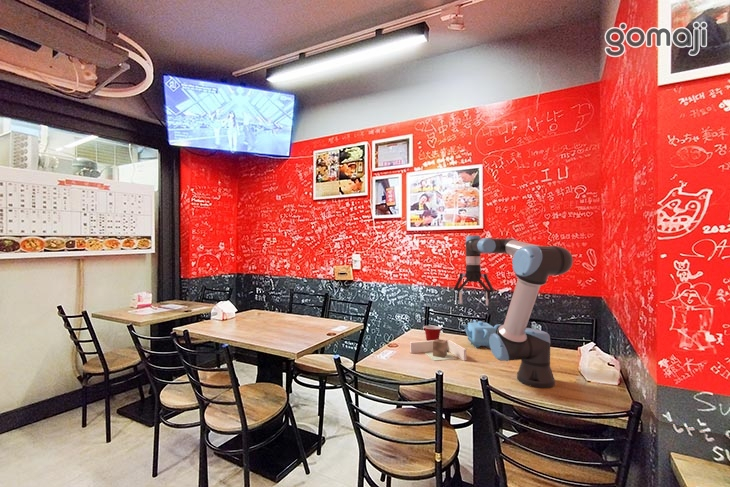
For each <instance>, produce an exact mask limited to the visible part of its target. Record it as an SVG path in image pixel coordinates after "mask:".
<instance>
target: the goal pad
mask: <svg viewBox="0 0 730 487" xmlns="http://www.w3.org/2000/svg"><path fill="white" fill-rule="evenodd" d="M424 354H425V355H426V356H428V358H430V359H431V360H432V361H435V362H436V361H437V362H438V361H448V360H451V361H452V360H457V358H458V357H455V355H453V354H451V353H450V352H447V355H446V356H445V357H444V358H441V357H435V356H433V352H424Z"/></svg>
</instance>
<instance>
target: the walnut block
mask: <svg viewBox="0 0 730 487" xmlns="http://www.w3.org/2000/svg"><path fill="white" fill-rule="evenodd" d="M447 353H448V351H447V340H446V339H440V338H439V339H436V340H434V341H433V356H435V357H441V358H444V357H445V356H446V355H447Z"/></svg>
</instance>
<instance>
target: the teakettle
mask: <svg viewBox="0 0 730 487" xmlns="http://www.w3.org/2000/svg"><path fill="white" fill-rule="evenodd" d="M472 320H473V322H470V321H469V322H467V324H465V323H462V324H461V323H460V325H461V326H463V328H464V330H465V334H466V335H467V340H468V341H469V343H470V344H471V345H473V347H474V348H475V347H476V349H479V348H480V346H481V347H486V348H487V349H491V348H490V344H489V338H490V336H491V334H494V333H497V331H498V329H499V327H500V326H501V325H502V324H499V323H498V324H495V325H494V326H493V325H491V324H489V323H488V322H484V321H481V320H479V321H477V320H476V319H472Z"/></svg>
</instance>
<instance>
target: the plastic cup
mask: <svg viewBox="0 0 730 487" xmlns="http://www.w3.org/2000/svg"><path fill="white" fill-rule="evenodd" d="M423 328H424V332H425V339H426V340H425V341H431V340H436V339H440V334H441V330H442V327H441V326H437V325H424V326H423Z"/></svg>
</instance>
